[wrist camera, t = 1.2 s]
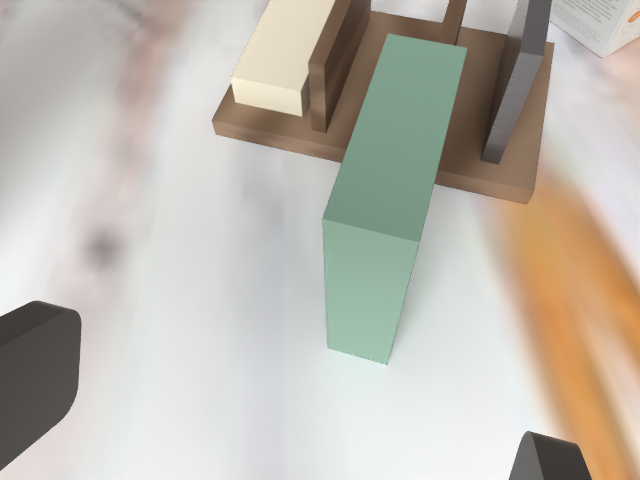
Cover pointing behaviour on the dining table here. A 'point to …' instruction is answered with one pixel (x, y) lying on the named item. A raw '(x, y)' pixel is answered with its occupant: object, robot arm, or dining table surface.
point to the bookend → (516, 73)
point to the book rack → (353, 82)
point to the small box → (598, 22)
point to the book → (386, 193)
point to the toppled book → (280, 56)
